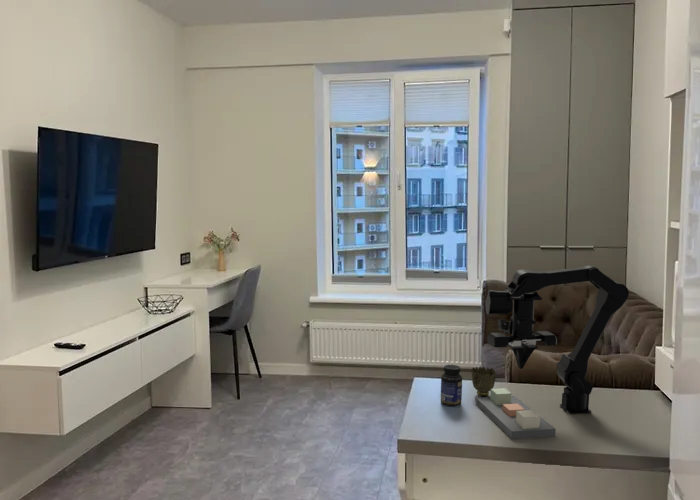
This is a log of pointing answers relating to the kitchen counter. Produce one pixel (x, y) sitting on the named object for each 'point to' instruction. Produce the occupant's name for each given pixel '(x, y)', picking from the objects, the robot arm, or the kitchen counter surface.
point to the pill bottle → (451, 386)
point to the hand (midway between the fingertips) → (520, 368)
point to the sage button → (500, 396)
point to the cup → (483, 380)
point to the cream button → (527, 419)
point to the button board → (513, 420)
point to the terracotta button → (512, 409)
